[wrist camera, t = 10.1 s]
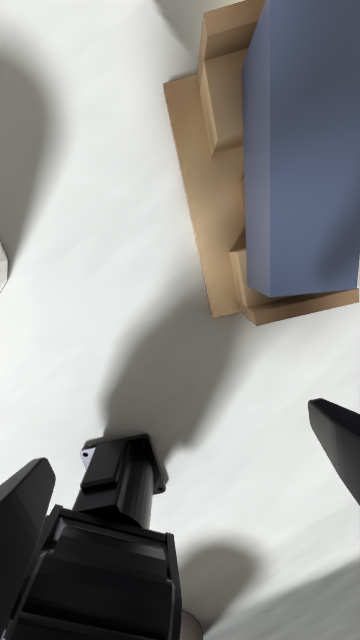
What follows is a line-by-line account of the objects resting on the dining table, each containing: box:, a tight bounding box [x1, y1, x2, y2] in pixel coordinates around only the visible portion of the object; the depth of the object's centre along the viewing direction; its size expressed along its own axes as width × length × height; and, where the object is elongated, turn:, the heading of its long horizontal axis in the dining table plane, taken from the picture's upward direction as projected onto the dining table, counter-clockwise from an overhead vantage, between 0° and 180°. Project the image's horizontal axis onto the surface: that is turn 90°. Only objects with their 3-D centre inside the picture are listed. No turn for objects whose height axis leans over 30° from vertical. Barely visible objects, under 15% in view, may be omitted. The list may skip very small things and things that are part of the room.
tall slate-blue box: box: [241, 0, 360, 297], centre depth 12 cm, size 11×4×4 cm, turn 6°
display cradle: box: [163, 0, 359, 326], centre depth 15 cm, size 10×15×5 cm, turn 14°
